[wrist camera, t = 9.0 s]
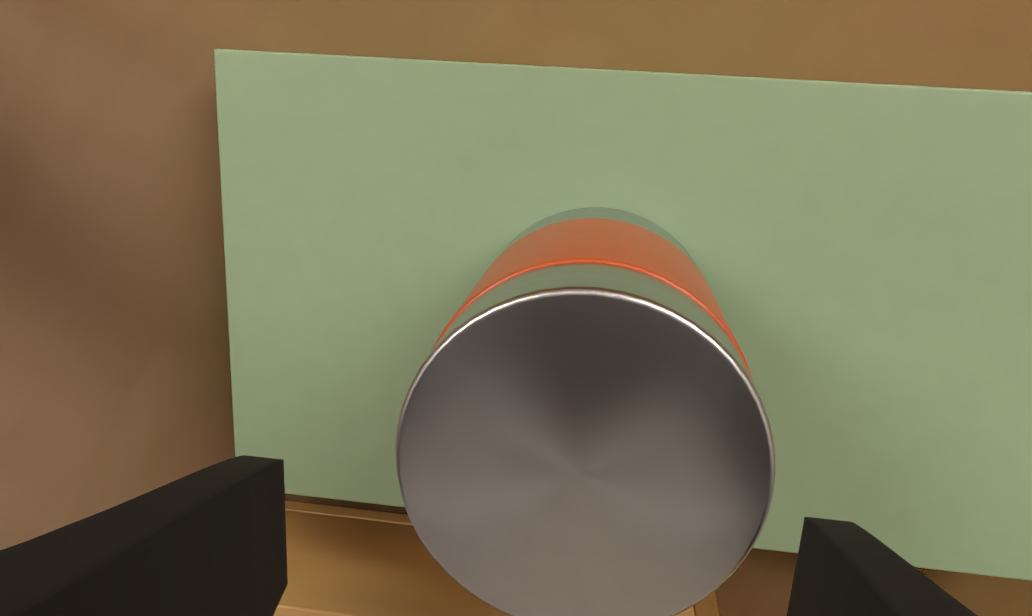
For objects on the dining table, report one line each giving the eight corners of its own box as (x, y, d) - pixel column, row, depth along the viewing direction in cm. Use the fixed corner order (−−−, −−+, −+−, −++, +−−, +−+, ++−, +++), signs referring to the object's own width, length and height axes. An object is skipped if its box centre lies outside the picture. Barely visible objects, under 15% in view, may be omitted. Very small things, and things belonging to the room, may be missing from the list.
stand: (269, 454, 22) (236, 488, 20) (253, 53, 19) (212, 48, 17) (1002, 536, 20) (1043, 583, 18) (1117, 99, 17) (1182, 99, 15)
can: (476, 413, 18) (388, 613, 11) (485, 196, 17) (391, 268, 10) (696, 435, 18) (751, 662, 11) (725, 213, 16) (811, 303, 9)
